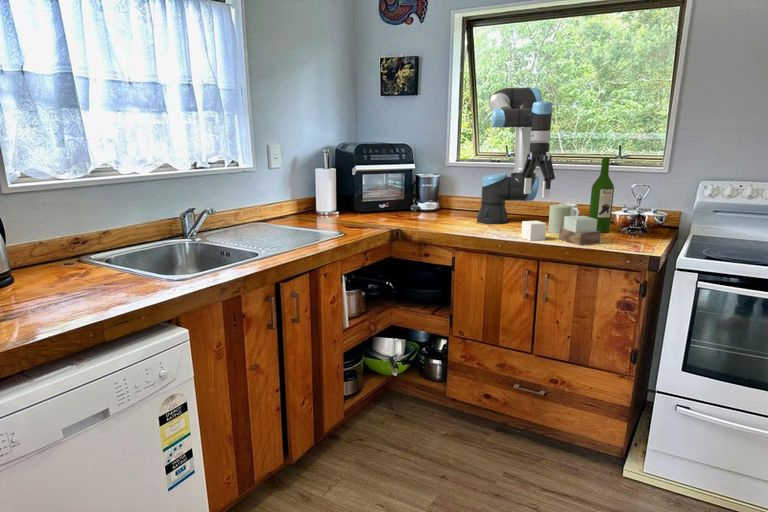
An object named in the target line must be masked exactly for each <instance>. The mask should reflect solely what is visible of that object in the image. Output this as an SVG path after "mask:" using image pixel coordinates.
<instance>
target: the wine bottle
mask: <svg viewBox="0 0 768 512" xmlns="http://www.w3.org/2000/svg"><path fill="white" fill-rule="evenodd" d="M601 158H602V159H601V166H600V167H601V168H600V174H599V176H598V178H596V180H595V181H594V182H593V184H592V186H591V193H590V200H589V201H590V202H589V214H588V217H591V218H594V219H597V229H596V230H597V231H601V235H602V234H609V232H610V230H611V219H612V212H613V210H612V209H613V202H614V200H613V199H614V192H615V185H614V184H613V181H612V180H611V178H610V176H609V170H610V160H611V158H610V157H609V156H603V157H601Z"/></svg>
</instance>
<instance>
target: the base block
mask: <svg viewBox="0 0 768 512" xmlns="http://www.w3.org/2000/svg"><path fill="white" fill-rule="evenodd" d="M601 237H602V234H601V231H597V230H596V232H580V233H575V232H572V231H569V230H567V229H560V234H559V237H558V241H560V240H561V242H564V241H565V243H569V244H572V245H575V246H576V245H578V246H584V245H585V246H586V245H592V244H593V243H594V244H600V243H601ZM594 244H593V245H594Z"/></svg>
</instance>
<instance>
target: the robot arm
mask: <svg viewBox="0 0 768 512" xmlns="http://www.w3.org/2000/svg"><path fill="white" fill-rule="evenodd" d="M488 107H489V108H490V109H489V110H490V111H491V127H493V128H499V129H502V128H505V129H506V128H515V135H514V136H515V138H514V139H515V140H514V141H515V142H514V144H515V145H514V166H513V171H511V173H510V176H508V174H507V173H493V174H488V175H485V176H483V177H482V179H481V180H482V182H481V198H480V199H481V200H480V201H481V202H480V208H479V211H478V212H477V216H476V222H478V223H483V224H492V225H494V224H495V225H497V224H498V225H499V224H501V225H502V224H507V223H508V222H509V217H508V212H507V208H506V201H509V202H511V201H514V202H515V201H516V202H517V201H519V202H521V201H522V202H526V201H527V202H528V201H530V202H531V201H533V200H535V199H536V197H537V194H538V191H539V184H540V178H539V176H537V175H536V172H535V170H536V168H537V167H539V168H540V170H541V173H542V176H543V181H542V193H541V194H542V195H541V198H550V192H551V182H552V181H554V180H555V179H556V176H555V171H554V166H553V161H552V154H547V153H549V152H550V143H549V142H550V141H551V134H552V133H551V132H552V130H551V129H552V118H553V117H552V116H553V115H552V114H553V102H551V101H543V99H542V92H541V91H540V89H539V88H538V87H530V86H529V87H504V88H502V89H498V90H497V91H496V92H494V93H492V95H491V96H490V97H489V99H488Z"/></svg>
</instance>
